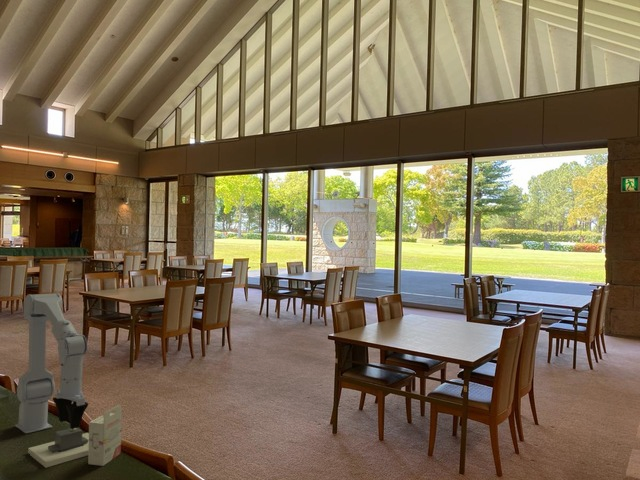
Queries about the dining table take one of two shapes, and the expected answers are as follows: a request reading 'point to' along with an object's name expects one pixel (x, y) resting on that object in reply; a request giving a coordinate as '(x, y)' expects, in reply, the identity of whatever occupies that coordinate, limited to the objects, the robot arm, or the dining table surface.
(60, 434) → the servo block
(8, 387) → the dining table surface
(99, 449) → the ink cartridge box
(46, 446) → the pocket plate
